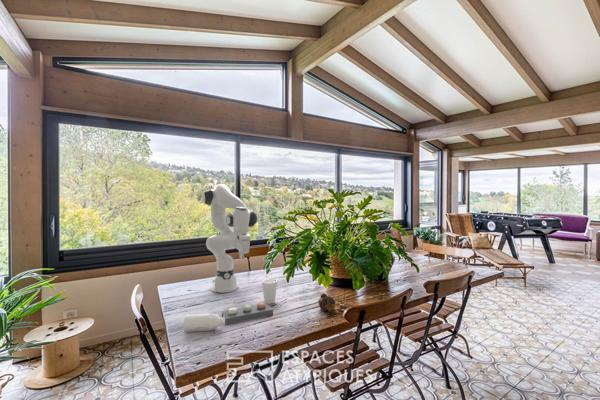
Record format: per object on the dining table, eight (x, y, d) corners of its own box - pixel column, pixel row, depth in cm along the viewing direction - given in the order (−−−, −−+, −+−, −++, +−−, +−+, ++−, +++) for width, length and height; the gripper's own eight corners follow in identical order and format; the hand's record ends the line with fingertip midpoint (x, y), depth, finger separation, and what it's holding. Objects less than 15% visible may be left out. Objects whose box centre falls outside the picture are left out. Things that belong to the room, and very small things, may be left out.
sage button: (242, 314, 157) (242, 305, 157) (250, 312, 159) (250, 304, 159) (244, 317, 153) (244, 308, 153) (252, 315, 155) (252, 307, 155)
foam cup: (260, 300, 179) (260, 279, 179) (274, 298, 182) (274, 278, 182) (264, 305, 170) (264, 284, 170) (279, 303, 174) (278, 282, 173)
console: (221, 317, 155) (221, 311, 155) (266, 308, 166) (266, 303, 166) (225, 324, 146) (225, 318, 146) (272, 314, 157) (272, 309, 157)
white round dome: (227, 316, 154) (227, 308, 153) (236, 315, 156) (236, 306, 155) (229, 320, 149) (229, 311, 149) (238, 318, 151) (238, 309, 151)
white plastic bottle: (223, 333, 137) (223, 317, 137) (182, 335, 135) (182, 318, 135) (226, 325, 145) (225, 310, 145) (187, 327, 143) (187, 311, 143)
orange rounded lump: (256, 311, 160) (256, 303, 160) (264, 309, 162) (263, 301, 162) (258, 314, 156) (258, 305, 156) (266, 312, 158) (266, 304, 158)
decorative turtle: (328, 303, 172) (328, 291, 172) (340, 315, 158) (341, 301, 157) (313, 305, 169) (314, 292, 168) (324, 317, 154) (325, 303, 154)
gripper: (232, 232, 173) (232, 255, 174) (240, 237, 155) (240, 262, 155) (242, 231, 176) (242, 254, 177) (251, 237, 158) (251, 261, 158)
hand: (241, 258), depth 166 cm, fingers closed
